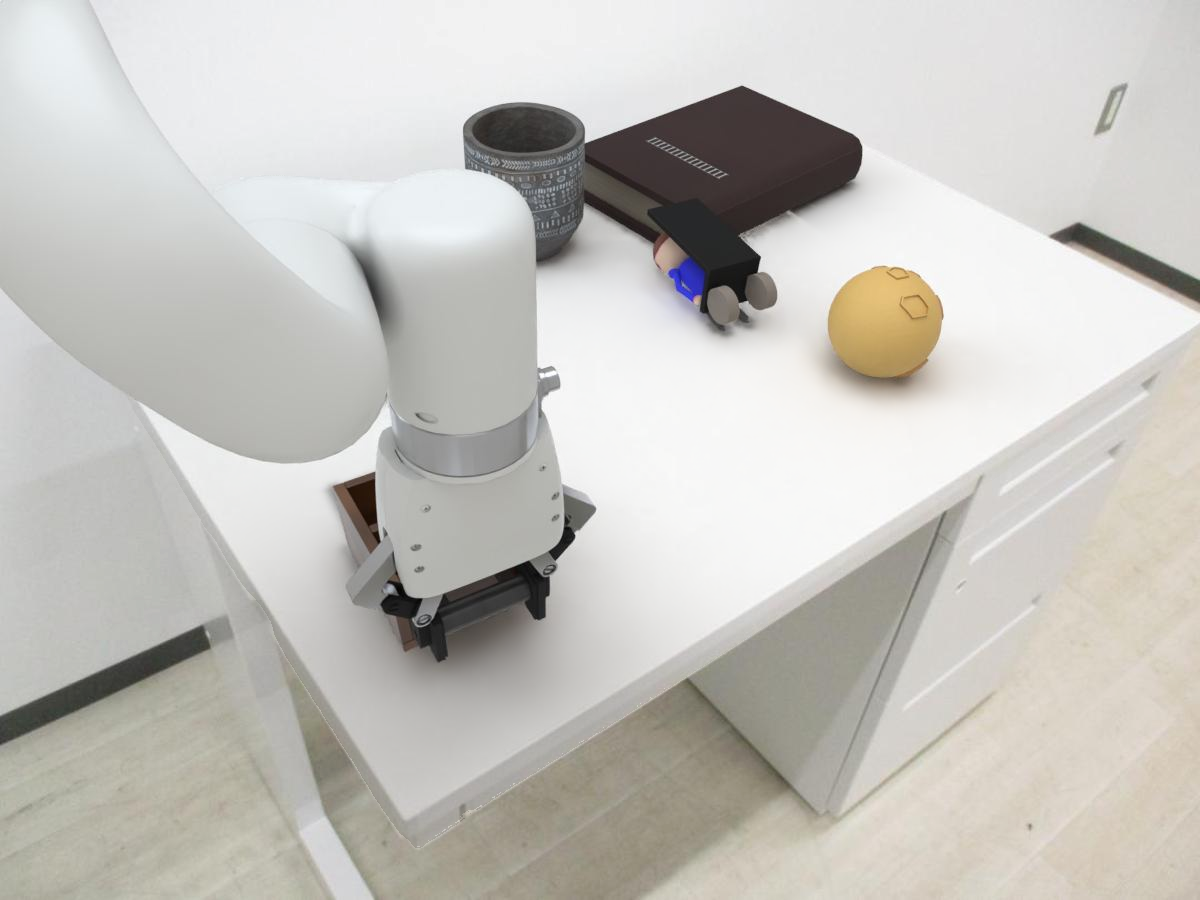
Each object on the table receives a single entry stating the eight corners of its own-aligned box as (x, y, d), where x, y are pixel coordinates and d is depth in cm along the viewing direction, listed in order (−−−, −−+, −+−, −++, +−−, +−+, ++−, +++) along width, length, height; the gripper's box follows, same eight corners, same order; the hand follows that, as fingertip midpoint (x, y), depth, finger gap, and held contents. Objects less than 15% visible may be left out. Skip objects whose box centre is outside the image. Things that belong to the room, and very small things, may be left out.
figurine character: (771, 337, 93) (687, 249, 101) (789, 277, 88) (699, 188, 95) (715, 357, 91) (634, 265, 99) (731, 297, 85) (643, 204, 93)
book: (693, 266, 100) (699, 216, 96) (573, 195, 110) (573, 147, 106) (855, 186, 114) (867, 140, 110) (736, 130, 124) (742, 85, 120)
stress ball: (875, 413, 83) (904, 320, 76) (796, 356, 89) (816, 265, 82) (948, 374, 88) (981, 283, 81) (868, 322, 93) (893, 232, 87)
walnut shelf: (563, 623, 63) (558, 558, 59) (422, 685, 59) (406, 620, 56) (473, 501, 74) (463, 440, 70) (348, 547, 70) (332, 485, 66)
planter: (528, 285, 96) (525, 168, 87) (446, 242, 102) (436, 127, 93) (606, 240, 103) (610, 127, 94) (525, 201, 109) (522, 91, 100)
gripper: (579, 330, 54) (574, 538, 67) (277, 420, 48) (334, 632, 60) (646, 407, 50) (628, 615, 62) (322, 518, 43) (373, 726, 56)
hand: (483, 622), depth 61 cm, fingers closed on walnut shelf, 6 cm apart
